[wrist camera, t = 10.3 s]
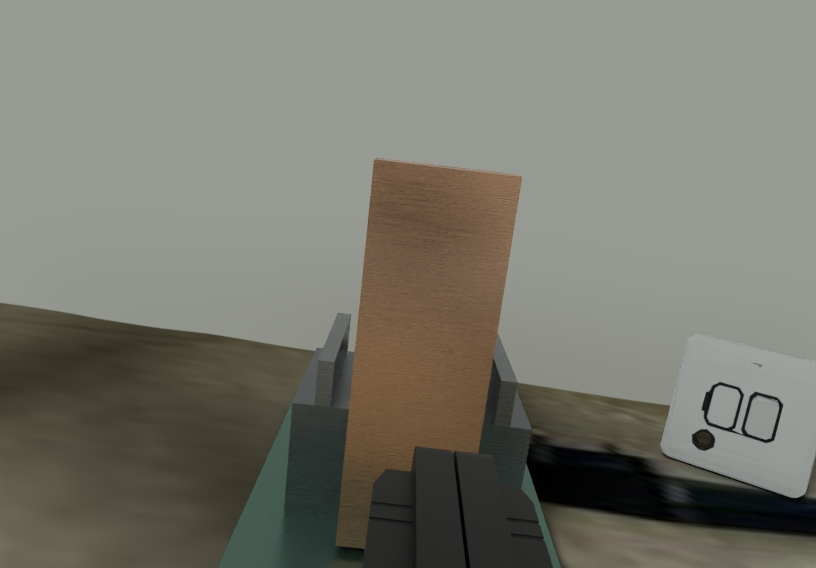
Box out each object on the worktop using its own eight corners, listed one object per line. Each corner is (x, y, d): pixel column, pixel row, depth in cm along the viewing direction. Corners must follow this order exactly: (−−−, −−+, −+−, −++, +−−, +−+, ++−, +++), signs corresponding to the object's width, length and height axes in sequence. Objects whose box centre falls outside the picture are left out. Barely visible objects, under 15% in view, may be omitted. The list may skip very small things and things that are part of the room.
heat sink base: (161, 718, 22) (169, 377, 19) (301, 391, 49) (314, 230, 46) (611, 764, 22) (693, 436, 19) (502, 414, 49) (529, 255, 46)
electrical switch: (655, 456, 46) (686, 334, 44) (666, 437, 50) (693, 326, 49) (803, 507, 41) (842, 373, 40) (800, 481, 46) (835, 360, 44)
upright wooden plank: (335, 545, 29) (374, 159, 25) (357, 430, 40) (386, 150, 36) (461, 559, 29) (522, 176, 25) (448, 441, 41) (488, 162, 36)
